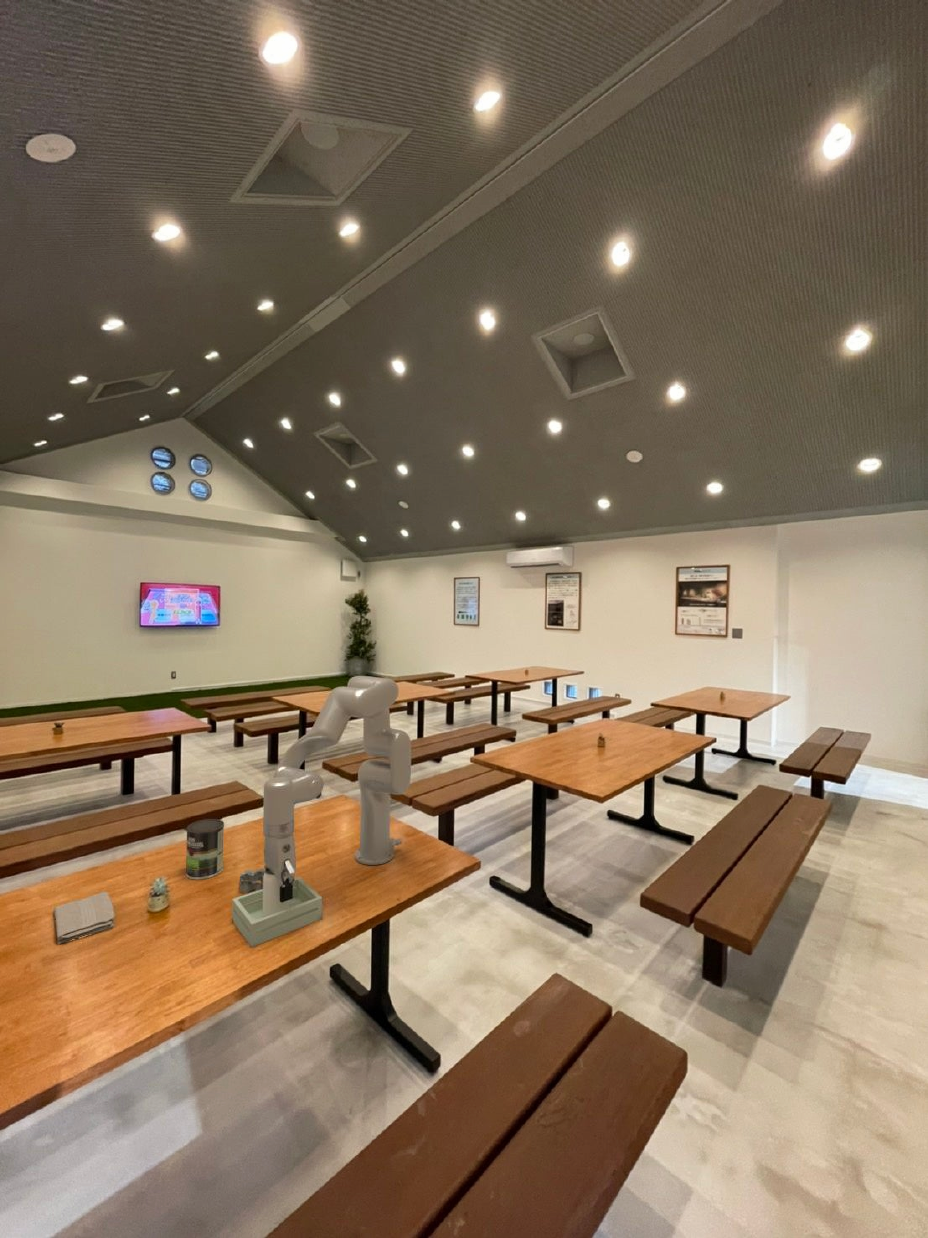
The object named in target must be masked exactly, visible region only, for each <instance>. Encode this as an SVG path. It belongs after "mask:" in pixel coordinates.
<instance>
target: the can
mask: <svg viewBox="0 0 928 1238" xmlns="http://www.w3.org/2000/svg"><path fill="white" fill-rule="evenodd" d="M264 869H265V868H264ZM285 872H287V871H286V870H285V871H282V873H285ZM287 876H288V875H286V876H283V879H284V881H285V880H286V878H288V877H287ZM280 886H281V883H280V879H279V877H277V876H276V875H274V874H273V873H272V872H271V871H270V870H269V869H268V867H267V868H266V869H265V874H264V876H263V898H262V899H263V918H264V917H266V916H269V915H272V914H274V913H277V912H280V911H282V910H285V909H288V908H289V900H287V901H285V902H282V903H281V902H280Z"/></svg>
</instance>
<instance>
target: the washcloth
mask: <svg viewBox="0 0 928 1238" xmlns="http://www.w3.org/2000/svg"><path fill="white" fill-rule="evenodd" d="M114 910H115V909H114V905H113V903H112V900H111V898H110V895H109V893H108V891H102V892H99V893H97V894H92V895H90V896H88V897H85V898H82V899H79V900H73V901H70V902H67V903H64V904H60V905H56V906H55V907H54V909H53V913H54V920H55V919H56V920H55V921H54V922H55V929H56V938H57V939H56V941H57V945H58V944H60V945H61V944H63V943H64V944H65V943H69V942H68V941H70V940H72V939H78V938H79V937H82V936H85V935H89V934H93V935H97V934H100V933H102V932H106V931H108V930H109V931H110V929H112V928H114V925H115V923H114V919H115V917H116V916H115V911H114ZM78 940H79V939H78Z"/></svg>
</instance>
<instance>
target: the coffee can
mask: <svg viewBox="0 0 928 1238" xmlns="http://www.w3.org/2000/svg"><path fill="white" fill-rule="evenodd" d="M224 826H225V822H224V821H223V820H222V819H218V818H207V819H200V820H197V821H194V822H192V823H190V824H189V825H187V826H186V829H185V830H186V858H185V859H186V862H185V863H186V864H185V865H186V867H185V876H186V878H187V879H190V880H198V881H199V880H205V879H206V880H207V879H210V878H213V877H215V876H217V875H219V874H220V873H221V872H222V871H223V870H224V866H223V864H224V863H223V862H224V830H225V828H224Z"/></svg>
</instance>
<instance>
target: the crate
mask: <svg viewBox="0 0 928 1238" xmlns="http://www.w3.org/2000/svg"><path fill="white" fill-rule="evenodd" d="M322 919H323V897H322V896H321V895H320V894H319V893H318V892H317V891H315V890H314V889H313V888H312V887H311V886H310V885H309V884H308V883H307V882H305V881H304V880H303V878H301V877H300V876H298V877H294V883H293V898H292V899H290V900H289V908H288V909H285V910H282V911H280V912H277V913H274V914H272V915H269V916H266V917H264V918H263V889H261V890H258V891H256V890H254V891H251V892H249V893H245V894H243V895H241V896H237V897H235V898H232V900H231V921H232V923H233V924H234V925H235V927H236V928H237V929H238V931H239V932H240V933H241V935H242V937H243V938H244V940H246V942H247V943H248V944H249V946H250V947H251V948H253V947H255V946H259V945H260V944H264V943H265V942H268V941H270V940H273V939H276V938H278V937H281V936H283V935H285V934H288V933H291V932H293V931H295V930H298V929H301V928H302V927H306V926H308V925H310V924H312V923H313V924H314V923H315V922H319V921H320V920H322Z"/></svg>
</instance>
